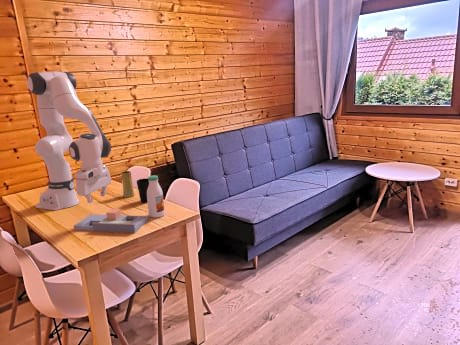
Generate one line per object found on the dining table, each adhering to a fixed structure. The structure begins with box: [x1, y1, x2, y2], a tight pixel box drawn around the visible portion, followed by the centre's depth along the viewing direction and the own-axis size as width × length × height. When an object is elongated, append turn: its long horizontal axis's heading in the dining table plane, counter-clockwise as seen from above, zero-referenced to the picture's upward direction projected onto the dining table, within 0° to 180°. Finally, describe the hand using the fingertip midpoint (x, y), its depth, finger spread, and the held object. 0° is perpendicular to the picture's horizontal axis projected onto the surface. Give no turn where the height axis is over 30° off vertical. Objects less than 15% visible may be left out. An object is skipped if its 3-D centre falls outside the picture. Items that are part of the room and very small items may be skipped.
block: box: [106, 208, 122, 220], centre depth 170 cm, size 4×4×4 cm
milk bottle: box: [147, 174, 166, 219], centre depth 174 cm, size 8×8×20 cm
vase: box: [120, 170, 135, 198], centre depth 206 cm, size 6×6×14 cm
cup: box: [136, 177, 149, 204], centre depth 196 cm, size 8×8×12 cm
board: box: [73, 213, 149, 234], centre depth 167 cm, size 30×15×4 cm, turn 79°
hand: (96, 198), depth 165 cm, fingers open, 8 cm apart
